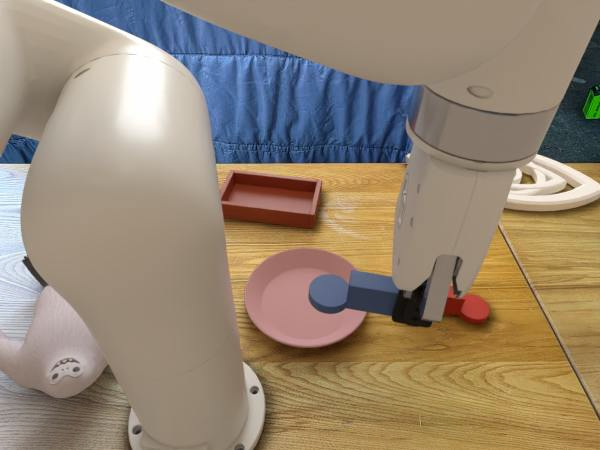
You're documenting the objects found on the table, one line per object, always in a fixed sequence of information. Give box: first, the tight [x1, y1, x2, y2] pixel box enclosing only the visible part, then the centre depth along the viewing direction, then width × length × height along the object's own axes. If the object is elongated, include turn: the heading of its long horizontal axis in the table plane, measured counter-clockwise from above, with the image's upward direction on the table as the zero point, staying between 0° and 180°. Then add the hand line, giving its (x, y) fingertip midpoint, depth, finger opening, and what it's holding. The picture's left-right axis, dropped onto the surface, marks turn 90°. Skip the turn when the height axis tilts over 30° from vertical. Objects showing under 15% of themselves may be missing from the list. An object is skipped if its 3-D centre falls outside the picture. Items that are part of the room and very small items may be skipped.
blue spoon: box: [308, 270, 427, 317], centre depth 37 cm, size 10×4×3 cm, turn 79°
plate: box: [243, 247, 368, 349], centre depth 52 cm, size 14×14×2 cm
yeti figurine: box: [0, 255, 109, 399], centre depth 47 cm, size 20×7×20 cm
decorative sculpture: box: [405, 153, 600, 212], centre depth 70 cm, size 15×29×2 cm, turn 82°
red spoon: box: [443, 285, 491, 325], centre depth 51 cm, size 10×4×3 cm, turn 80°
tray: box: [219, 169, 323, 230], centre depth 64 cm, size 14×8×3 cm, turn 80°
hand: (410, 308), depth 38 cm, fingers closed on blue spoon
